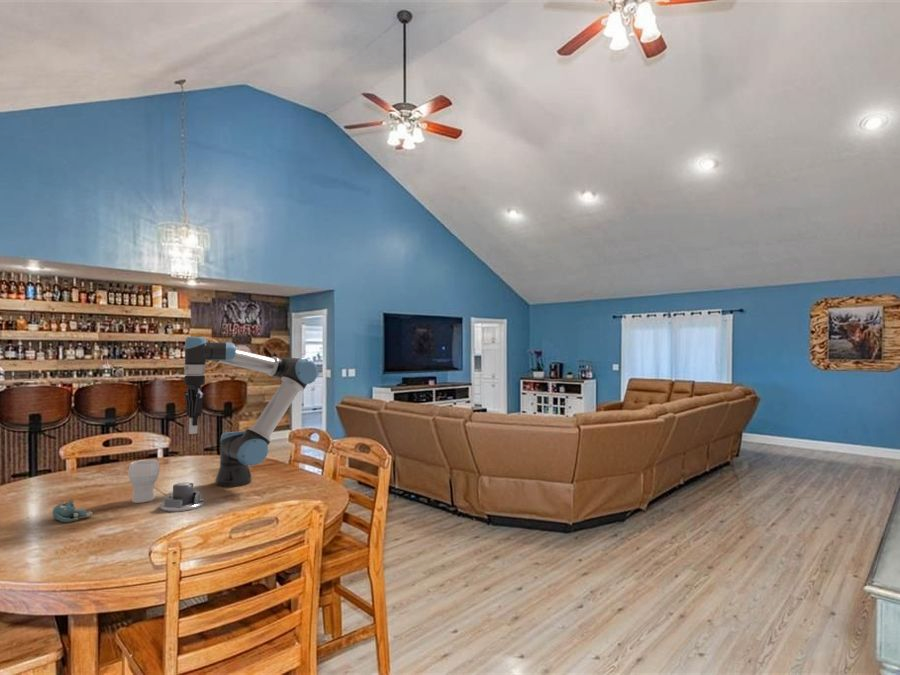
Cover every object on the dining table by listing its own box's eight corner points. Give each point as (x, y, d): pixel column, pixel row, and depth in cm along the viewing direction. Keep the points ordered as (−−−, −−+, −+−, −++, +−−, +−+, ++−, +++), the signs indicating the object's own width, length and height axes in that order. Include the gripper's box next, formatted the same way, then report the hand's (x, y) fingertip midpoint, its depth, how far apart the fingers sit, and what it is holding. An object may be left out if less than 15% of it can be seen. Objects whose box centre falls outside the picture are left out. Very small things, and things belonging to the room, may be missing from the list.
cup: (164, 497, 207) (165, 460, 207) (141, 505, 197) (142, 466, 197) (145, 495, 210) (146, 458, 210) (121, 502, 200) (122, 463, 200)
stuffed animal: (86, 507, 176) (47, 502, 174) (81, 528, 176) (42, 523, 174) (100, 498, 187) (64, 493, 185) (96, 518, 186) (59, 513, 184)
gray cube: (169, 503, 196) (169, 483, 196) (188, 499, 202) (188, 480, 202) (177, 507, 192) (177, 487, 192) (196, 502, 197) (196, 483, 197)
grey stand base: (153, 506, 196) (153, 495, 196) (193, 497, 207) (193, 487, 207) (170, 514, 186) (170, 503, 186) (211, 505, 198) (211, 494, 198)
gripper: (178, 374, 208) (176, 432, 207) (192, 376, 199) (190, 436, 199) (196, 374, 213) (195, 430, 213) (211, 375, 205) (210, 434, 205)
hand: (193, 433), depth 206 cm, fingers closed
